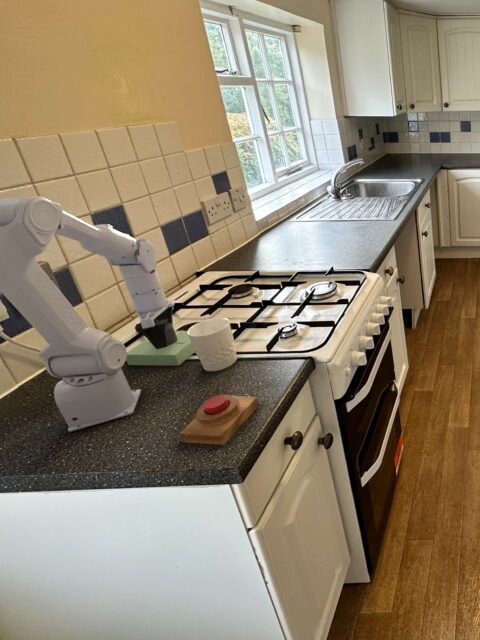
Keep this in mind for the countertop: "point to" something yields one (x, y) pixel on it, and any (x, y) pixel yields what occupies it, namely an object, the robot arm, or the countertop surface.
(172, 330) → the dial
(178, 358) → the dial panel
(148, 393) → the countertop surface
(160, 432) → the countertop surface
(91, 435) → the countertop surface
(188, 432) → the button block
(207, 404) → the button
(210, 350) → the white cup
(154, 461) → the countertop surface
